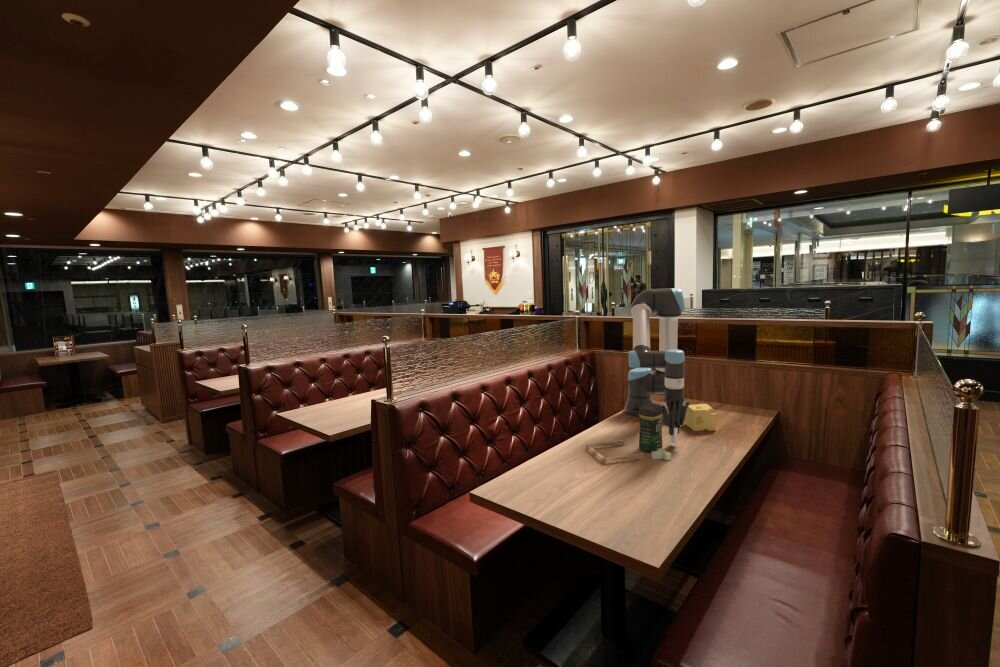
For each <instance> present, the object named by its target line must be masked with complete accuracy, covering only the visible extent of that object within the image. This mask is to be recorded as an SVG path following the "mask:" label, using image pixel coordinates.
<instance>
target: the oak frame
mask: <svg viewBox="0 0 1000 667" xmlns="http://www.w3.org/2000/svg"><path fill="white" fill-rule="evenodd" d="M620 445H621V446H624V445H625V440H624V439H618V440H613V441H612V440H611V441H604V442H597V443H596V442H595V443H590V444H589V443H587V444H585V449H586V450H587V452H588V453H590V455H592V456H593V457H594V458H596V459H597V460H598V461H599V462H600V463H601V462H602V463H601V464H602V465H610V464H609V463H611V464H616V462H618V463H623V461H624V462H630V460H631V461H637V460H636V459H638V460H643V459H644V453H643V452H638V453H631V454H625V455H617V456H612V457H610V456H609V457H604V456H603V455H602V454H600V453H599V452H598V451H597V450H598V449H604V448H611V447H612V448H613V446H614V447H619V446H620ZM621 446H620V447H621Z"/></svg>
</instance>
